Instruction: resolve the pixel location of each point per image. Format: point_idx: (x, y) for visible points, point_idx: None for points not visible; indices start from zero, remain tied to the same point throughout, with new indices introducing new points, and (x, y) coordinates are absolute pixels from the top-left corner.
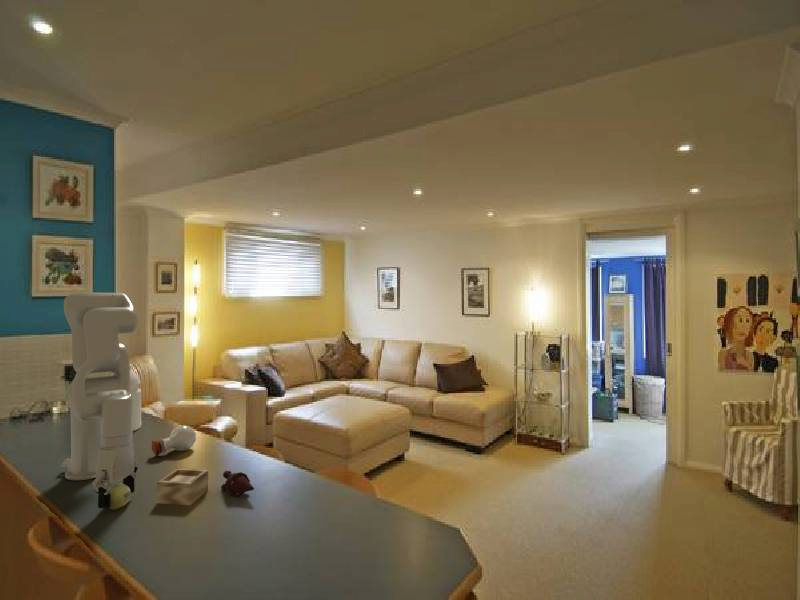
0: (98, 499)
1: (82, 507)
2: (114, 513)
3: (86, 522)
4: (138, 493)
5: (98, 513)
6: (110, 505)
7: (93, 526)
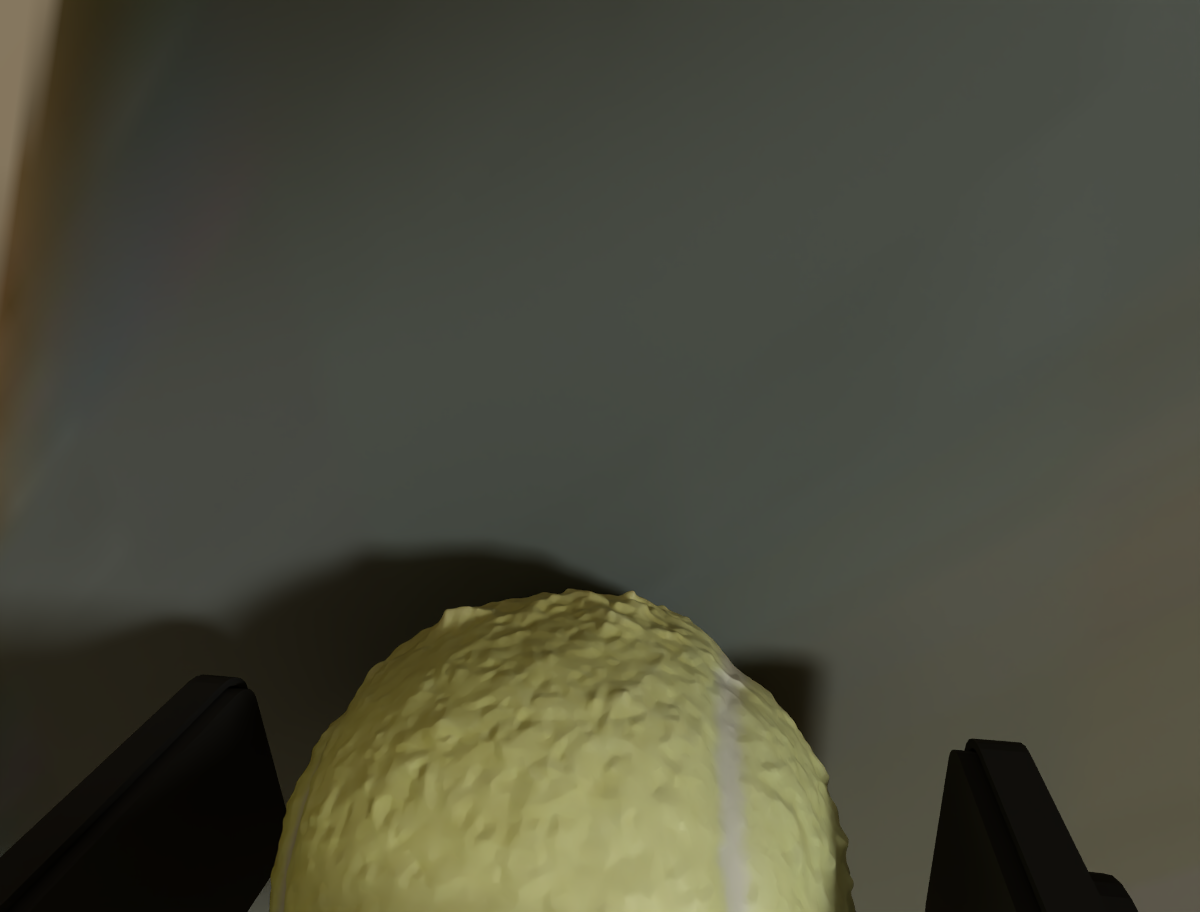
0: (69, 803)
1: (413, 68)
2: None
3: (70, 579)
4: (1186, 783)
5: (320, 569)
6: (259, 879)
7: (50, 723)
